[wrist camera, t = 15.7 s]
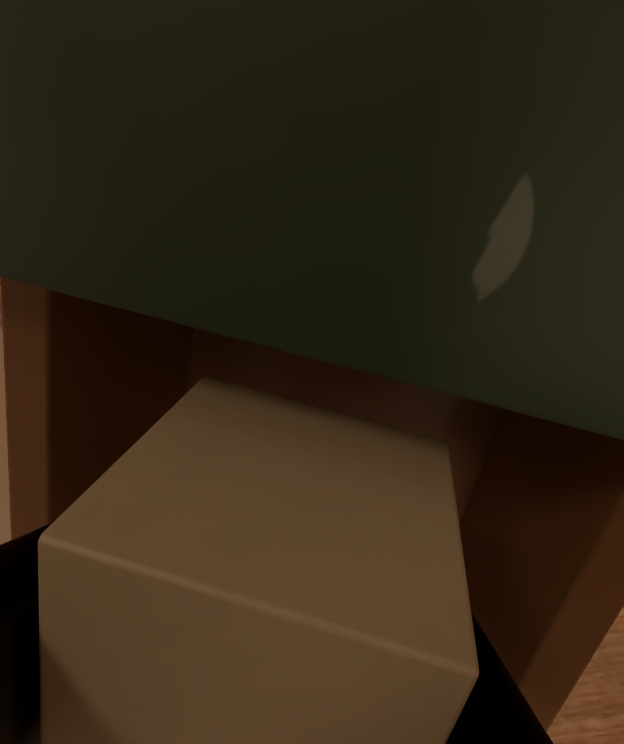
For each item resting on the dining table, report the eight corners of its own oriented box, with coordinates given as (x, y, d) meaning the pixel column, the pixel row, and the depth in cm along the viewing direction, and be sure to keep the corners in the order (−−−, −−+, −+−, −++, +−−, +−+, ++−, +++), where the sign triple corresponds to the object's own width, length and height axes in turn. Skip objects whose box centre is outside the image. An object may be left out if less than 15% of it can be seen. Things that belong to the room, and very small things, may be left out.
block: (383, 623, 9) (364, 915, 6) (179, 561, 10) (38, 796, 6) (449, 439, 8) (483, 676, 4) (204, 373, 8) (33, 536, 4)
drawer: (432, 679, 18) (444, 974, 11) (136, 586, 19) (-11, 806, 13) (677, 127, 11) (1085, 56, 4) (186, 26, 12) (-93, -158, 5)
